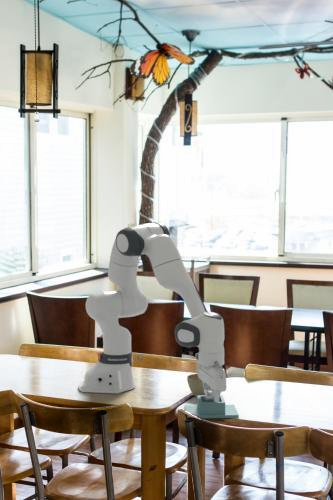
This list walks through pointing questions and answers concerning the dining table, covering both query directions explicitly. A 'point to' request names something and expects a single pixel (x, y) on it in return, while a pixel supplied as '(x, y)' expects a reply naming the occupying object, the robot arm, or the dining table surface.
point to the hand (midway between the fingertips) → (211, 397)
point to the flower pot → (195, 385)
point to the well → (212, 409)
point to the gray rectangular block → (209, 395)
